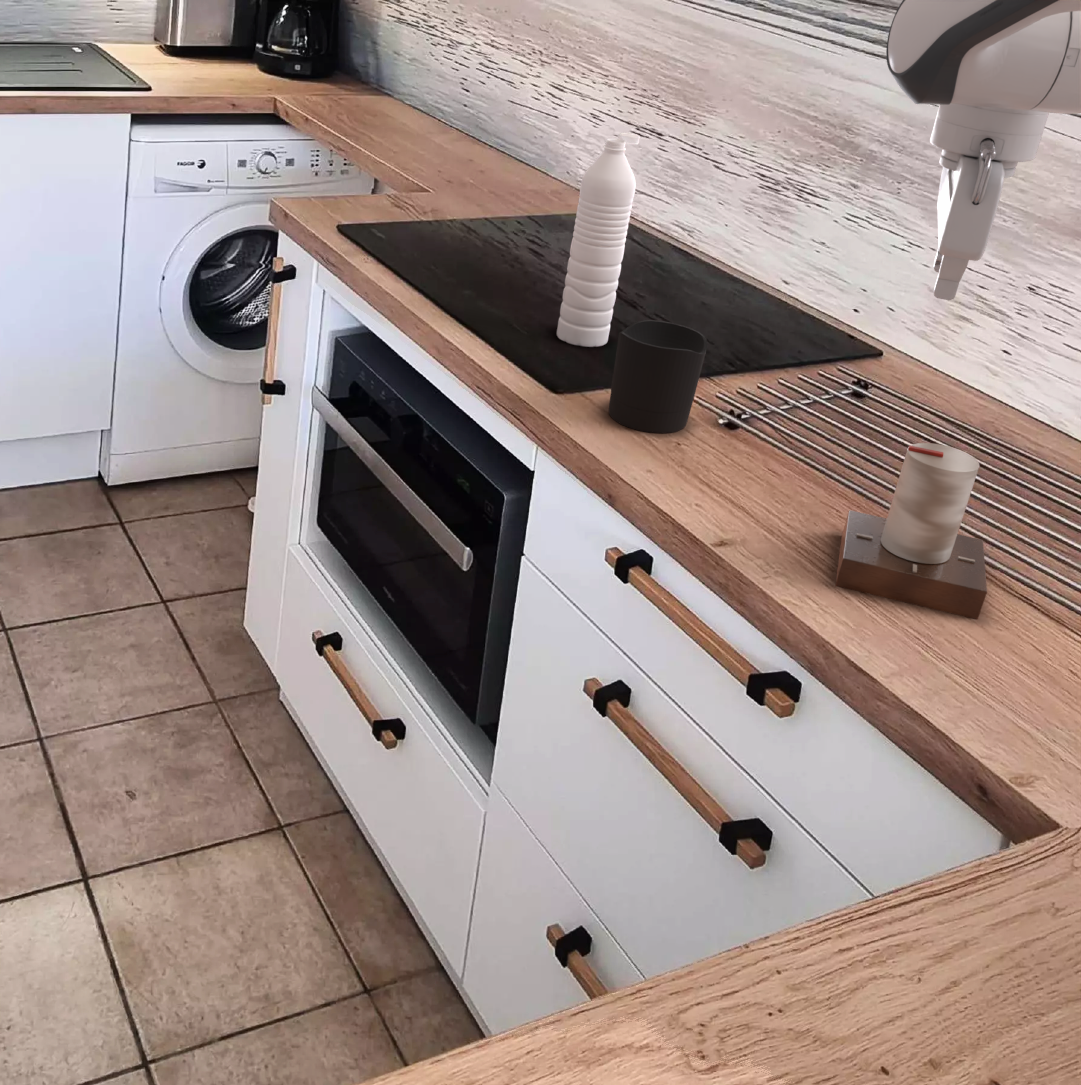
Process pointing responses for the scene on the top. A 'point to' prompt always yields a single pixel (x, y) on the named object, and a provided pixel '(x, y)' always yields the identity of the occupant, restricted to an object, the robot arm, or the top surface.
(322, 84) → the top surface
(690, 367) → the pen holder
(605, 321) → the water bottle
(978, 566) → the roll stand
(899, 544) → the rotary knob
